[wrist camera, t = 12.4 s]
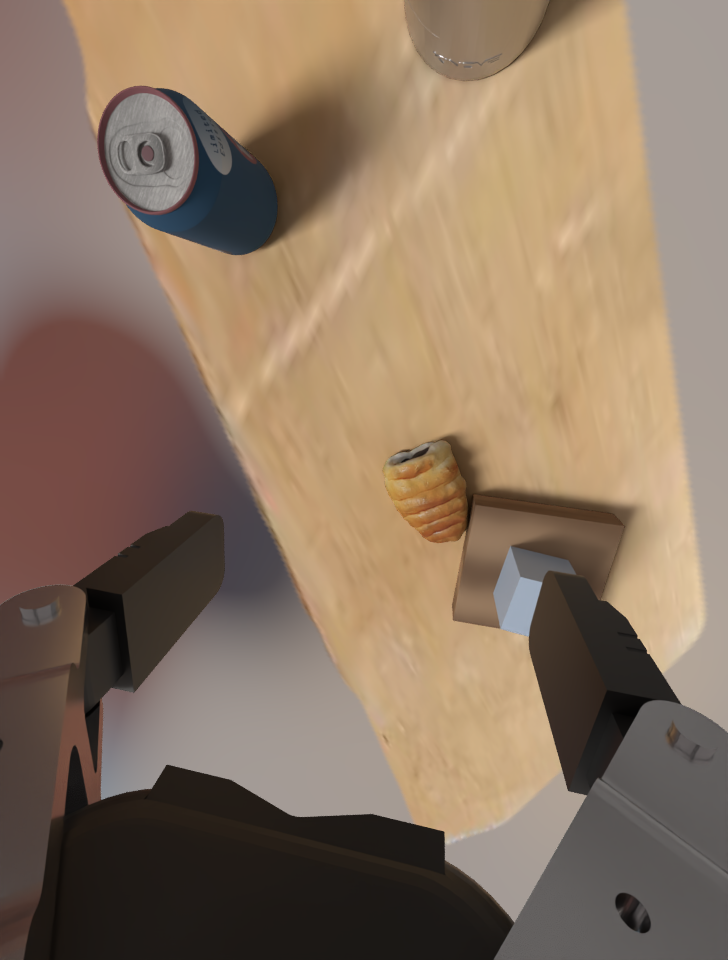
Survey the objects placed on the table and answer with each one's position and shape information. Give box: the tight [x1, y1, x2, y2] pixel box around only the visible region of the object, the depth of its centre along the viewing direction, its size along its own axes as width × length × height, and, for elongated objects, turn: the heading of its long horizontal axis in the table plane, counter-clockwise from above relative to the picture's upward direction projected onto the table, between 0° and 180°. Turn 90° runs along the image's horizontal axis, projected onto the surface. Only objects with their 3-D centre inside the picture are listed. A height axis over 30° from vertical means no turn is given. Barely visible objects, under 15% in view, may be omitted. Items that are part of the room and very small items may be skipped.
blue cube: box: [493, 546, 576, 636], centre depth 36 cm, size 5×5×5 cm
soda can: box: [97, 86, 278, 255], centre depth 29 cm, size 7×7×12 cm
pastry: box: [383, 440, 468, 543], centre depth 38 cm, size 9×7×4 cm
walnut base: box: [452, 494, 625, 629], centre depth 39 cm, size 12×12×3 cm
